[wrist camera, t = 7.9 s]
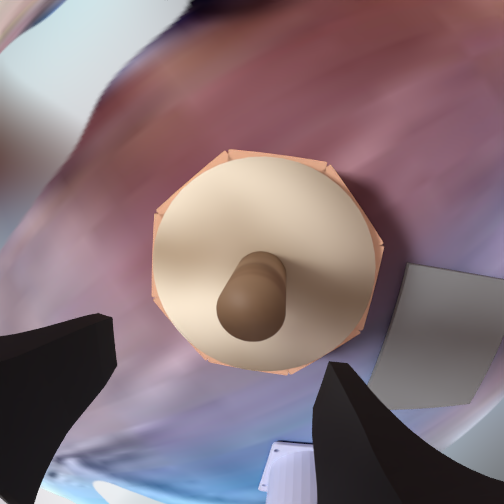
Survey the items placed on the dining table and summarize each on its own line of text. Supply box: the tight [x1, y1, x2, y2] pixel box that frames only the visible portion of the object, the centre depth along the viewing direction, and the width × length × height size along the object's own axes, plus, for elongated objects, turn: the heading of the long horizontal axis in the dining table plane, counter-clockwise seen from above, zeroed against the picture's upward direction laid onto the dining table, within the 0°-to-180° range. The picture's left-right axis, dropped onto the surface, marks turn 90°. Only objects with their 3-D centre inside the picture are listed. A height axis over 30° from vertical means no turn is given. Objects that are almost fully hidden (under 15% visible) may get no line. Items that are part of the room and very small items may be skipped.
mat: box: [367, 263, 504, 410], centre depth 18 cm, size 12×12×1 cm
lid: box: [153, 156, 376, 371], centre depth 12 cm, size 11×11×5 cm
